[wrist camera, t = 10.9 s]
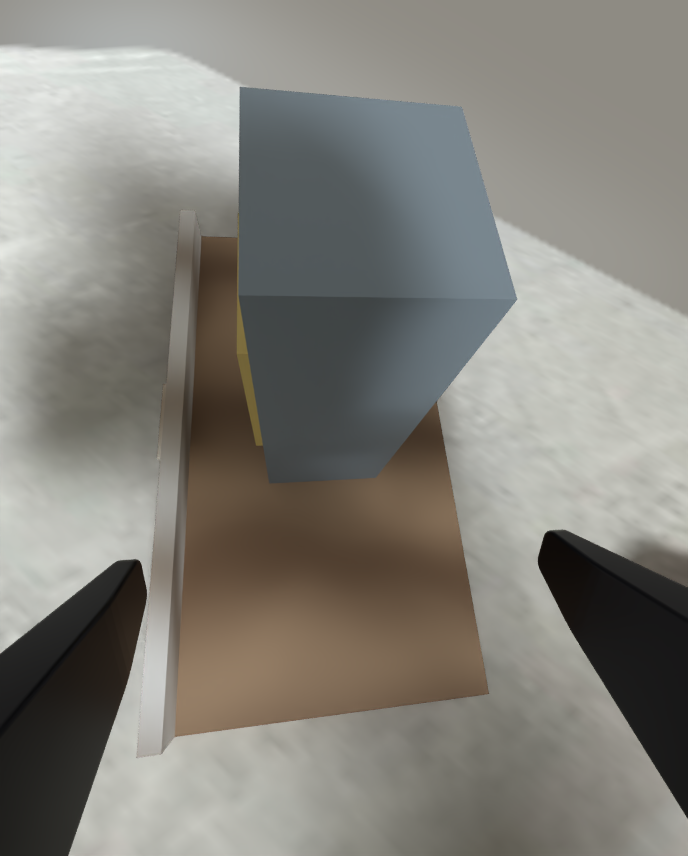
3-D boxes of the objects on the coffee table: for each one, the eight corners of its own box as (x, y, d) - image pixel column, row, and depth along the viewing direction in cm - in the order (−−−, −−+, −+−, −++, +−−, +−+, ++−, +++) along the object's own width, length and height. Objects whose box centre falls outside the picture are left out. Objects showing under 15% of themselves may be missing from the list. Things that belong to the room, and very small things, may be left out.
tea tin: (363, 377, 20) (462, 106, 9) (375, 477, 18) (517, 299, 7) (260, 378, 19) (223, 85, 8) (262, 484, 17) (217, 295, 6)
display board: (472, 685, 17) (510, 704, 14) (159, 726, 15) (129, 759, 12) (401, 263, 25) (416, 220, 22) (189, 256, 23) (175, 209, 20)
